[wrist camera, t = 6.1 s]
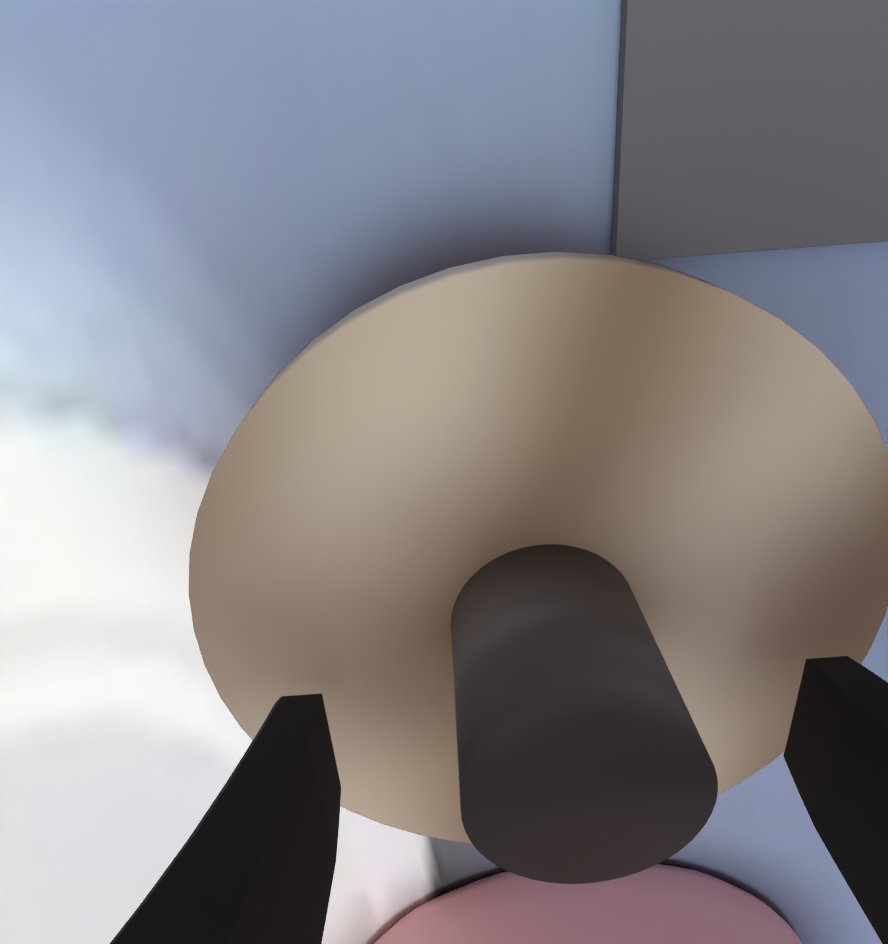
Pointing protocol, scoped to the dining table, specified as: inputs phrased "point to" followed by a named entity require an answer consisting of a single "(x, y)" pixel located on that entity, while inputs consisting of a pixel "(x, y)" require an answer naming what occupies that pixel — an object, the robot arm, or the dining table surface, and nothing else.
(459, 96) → the dining table surface
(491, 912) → the cake
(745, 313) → the lid
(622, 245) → the mat
